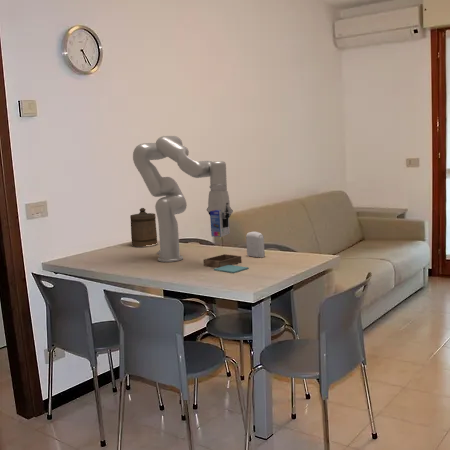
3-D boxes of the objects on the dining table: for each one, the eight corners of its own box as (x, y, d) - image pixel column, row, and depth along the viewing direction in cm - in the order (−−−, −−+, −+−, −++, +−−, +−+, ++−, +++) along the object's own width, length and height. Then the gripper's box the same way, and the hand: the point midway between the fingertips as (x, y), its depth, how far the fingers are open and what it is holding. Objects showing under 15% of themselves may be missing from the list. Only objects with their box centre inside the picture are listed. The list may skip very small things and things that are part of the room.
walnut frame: (203, 265, 259) (203, 259, 259) (224, 260, 270) (224, 254, 269) (220, 268, 252) (220, 261, 252) (241, 262, 263) (241, 256, 262)
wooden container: (160, 242, 333) (157, 206, 331) (153, 247, 319) (151, 209, 316) (136, 243, 336) (133, 207, 333) (128, 247, 321) (125, 210, 318)
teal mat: (213, 270, 249) (213, 268, 248) (228, 266, 256) (228, 264, 256) (233, 273, 240) (233, 271, 240) (248, 268, 248) (248, 267, 248)
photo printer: (245, 255, 278) (244, 231, 277) (252, 254, 281) (250, 230, 279) (259, 258, 270) (258, 233, 269) (266, 256, 273) (265, 232, 271)
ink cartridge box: (219, 233, 265) (218, 203, 263) (230, 233, 263) (229, 203, 260) (210, 236, 256) (209, 205, 254) (221, 237, 254) (220, 205, 252)
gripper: (199, 188, 259) (201, 226, 262) (227, 189, 248) (228, 229, 250) (210, 187, 265) (212, 224, 267) (238, 188, 253) (239, 226, 256)
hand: (220, 226), depth 259 cm, fingers closed on ink cartridge box, 6 cm apart
